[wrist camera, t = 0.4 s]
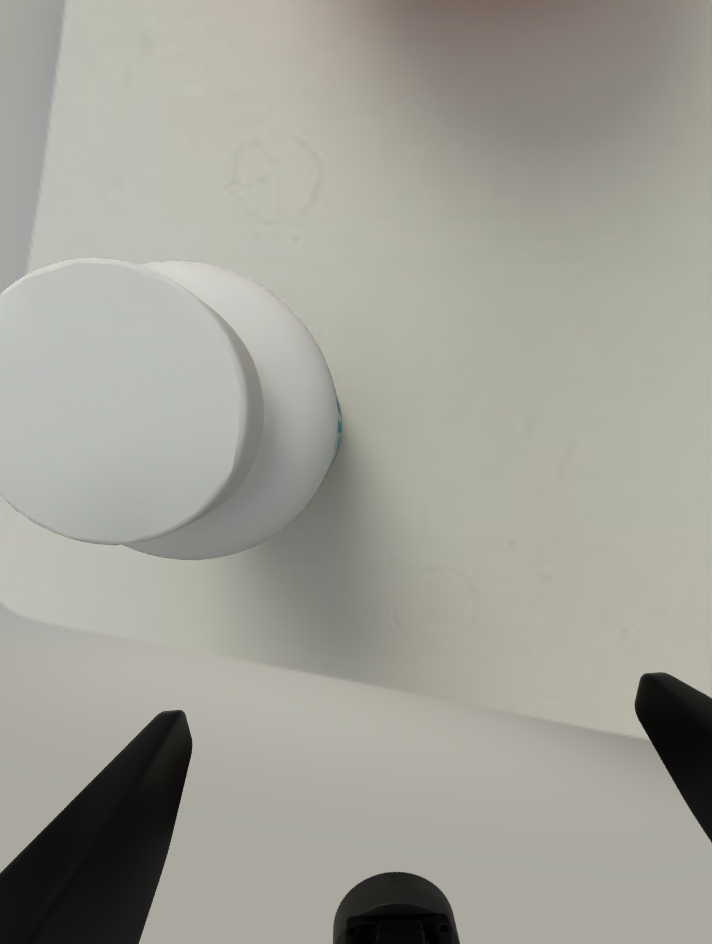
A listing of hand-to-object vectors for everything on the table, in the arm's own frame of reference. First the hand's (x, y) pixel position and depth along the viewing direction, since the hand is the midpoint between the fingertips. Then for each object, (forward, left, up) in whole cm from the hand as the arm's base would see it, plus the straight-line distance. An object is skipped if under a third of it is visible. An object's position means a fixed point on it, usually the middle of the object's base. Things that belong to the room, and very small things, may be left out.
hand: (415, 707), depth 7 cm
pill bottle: (+6, +5, -13) cm, 15 cm away
